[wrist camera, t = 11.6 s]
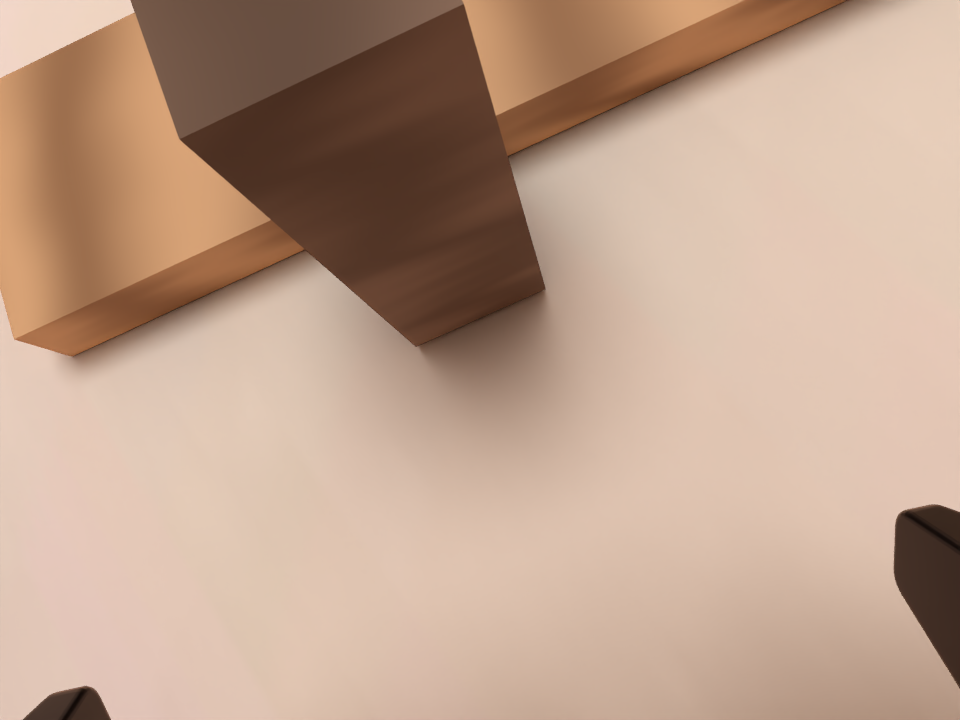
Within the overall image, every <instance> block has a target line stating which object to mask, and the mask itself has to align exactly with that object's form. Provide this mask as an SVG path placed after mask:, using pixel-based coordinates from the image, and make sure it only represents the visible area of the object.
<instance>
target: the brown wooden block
mask: <svg viewBox="0 0 960 720" xmlns="http://www.w3.org/2000/svg"><path fill="white" fill-rule="evenodd" d="M131 3H132V6H133V9H134V11H135V14H136V17H137V20H138V23H139V26H140V29H141V31H142V34H143V37H144V40H145V43H146V46H147V49H148V51H149V54H150V57H151V60H152V63H153V66H154V69H155V71H156V74H157V77H158V80H159V83H160V86H161V89H162V91H163V94H164V97H165V100H166V103H167V106H168V109H169V112H170V114H171V117H172V120H173V123H174V126H175V129H176V132H177V134H178V137H179V140H181V141H182V142H183V143H184V144H185V145H186V146H187V147H189V148H190V149H191V150H192V151H193V152H194V153H195V154H197V155H198V156H199V157H200V158H201V159H202V160H203V161H205V162H206V163H207V164H208V165H209V166H210V167H211V168H213V169H214V170H215V171H216V172H217V173H218V174H219V175H221V176H222V177H223V178H224V179H225V180H226V181H227V182H229V183H230V184H231V185H232V186H233V187H234V188H235V189H236V190H238V191H239V192H240V193H241V194H242V195H243V196H244V197H246V198H247V199H248V200H249V201H250V202H251V203H252V204H254V205H255V206H256V207H257V208H258V209H259V210H260V211H262V212H263V213H264V214H265V215H266V216H267V217H268V218H270V219H271V220H272V221H273V222H274V223H275V224H276V225H278V226H279V227H280V228H281V229H282V230H283V231H284V232H286V233H287V234H288V235H289V236H290V237H291V238H292V239H294V240H295V241H296V242H297V243H298V244H299V245H300V246H302V247H303V248H304V249H305V250H306V251H307V252H308V253H310V254H311V255H312V256H313V257H314V258H315V259H316V260H318V261H319V262H320V263H321V264H322V265H323V266H324V267H326V268H327V269H328V270H329V271H330V272H331V273H332V274H334V275H335V276H336V277H337V278H338V279H339V280H340V281H342V282H343V283H344V284H345V285H346V286H347V287H348V288H349V289H351V290H352V291H353V292H354V293H355V294H356V295H357V296H359V297H360V298H361V299H362V300H363V301H364V302H365V303H367V304H368V305H369V306H370V307H371V308H372V309H373V310H375V311H376V312H377V313H378V314H379V315H380V316H381V317H383V318H384V319H385V320H386V321H387V322H388V323H389V324H391V325H392V326H393V327H394V328H395V329H396V330H397V331H399V332H400V333H401V334H402V335H403V336H404V337H405V338H407V339H408V340H409V341H410V342H411V343H412V344H413V345H415V346H416V347H417V346H419V345H421V344H423V343H426V342H428V341H430V340H432V339H435V338H437V337H439V336H441V335H444V334H446V333H448V332H450V331H452V330H455V329H457V328H459V327H461V326H464V325H466V324H468V323H470V322H473V321H475V320H477V319H479V318H482V317H484V316H486V315H488V314H491V313H493V312H495V311H497V310H500V309H502V308H504V307H506V306H509V305H511V304H513V303H515V302H518V301H520V300H522V299H524V298H527V297H529V296H531V295H533V294H535V293H538V292H540V291H542V290H544V289H545V285H544V282H543V278H542V275H541V271H540V268H539V264H538V261H537V257H536V254H535V250H534V247H533V244H532V240H531V237H530V233H529V230H528V226H527V223H526V219H525V216H524V212H523V209H522V205H521V202H520V198H519V195H518V191H517V188H516V184H515V181H514V177H513V174H512V170H511V167H510V163H509V160H508V156H507V153H506V149H505V146H504V142H503V139H502V135H501V132H500V128H499V125H498V121H497V118H496V114H495V111H494V107H493V104H492V100H491V97H490V93H489V90H488V86H487V83H486V79H485V76H484V72H483V69H482V65H481V62H480V58H479V55H478V51H477V48H476V45H475V41H474V38H473V34H472V31H471V27H470V24H469V20H468V17H467V13H466V10H465V6H464V3H463V1H462V0H131Z"/></svg>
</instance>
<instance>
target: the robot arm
mask: <svg viewBox="0 0 960 720" xmlns="http://www.w3.org/2000/svg"><path fill="white" fill-rule="evenodd" d="M894 576H895V580H896V583H897V586H898V588H899V591H900V592H901V594H902V596H903V597H904V599H905V601H906V602H907V604H908V606H909V607H910V609H911V610H912V612H913V614H914V615H915V617H916V618H917V620H918V622H919V623H920V625H921V627H922V628H923V630H924V631H925V633H926V635H927V636H928V638H929V639H930V641H931V643H932V644H933V646H934V648H935V649H936V651H937V652H938V654H939V656H940V657H941V659H942V660H943V662H944V664H945V665H946V667H947V669H948V670H949V672H950V673H951V675H952V677H953V678H954V680H955V681H956V683H957V685H958V686H959V688H960V512H958V511H955V510H952V509H949V508H947V507H944V506H941V505H935V504H934V505H926V506H922V507H917V508H912V509H908V510H904V511H902V512H901V513H900V514H899V515H898V517H897V519H896V524H895V547H894ZM23 720H111V719H110V717H109V714H108V712H107V710H106V708H105V706H104V704H103V702H102V700H101V698H100V696H99V694H98V693H97V691H96V690H95V689H94V688H92V687H88V686H83V687H78V688H73V689H69V690H64V691H59V692H56V693H53V694H51V695H49V696H48V697H47V698H46V699H45V700H43V701H42V702H41V703H40V704H39V705H38V706H37V707H36V708H35V709H34V710H33V711H31V712H30V713H29V714H28V715H27V716H26V717H25V718H24V719H23Z"/></svg>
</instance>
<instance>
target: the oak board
mask: <svg viewBox="0 0 960 720" xmlns="http://www.w3.org/2000/svg"><path fill="white" fill-rule="evenodd" d="M462 1H463V3H464V6H465V10H466V13H467V17H468V20H469V24H470V27H471V31H472V34H473V38H474V41H475V45H476V48H477V51H478V55H479V58H480V62H481V65H482V69H483V72H484V76H485V79H486V83H487V86H488V90H489V93H490V97H491V100H492V104H493V107H494V111H495V114H496V118H497V121H498V125H499V128H500V132H501V135H502V139H503V142H504V146H505V149H506V153H507V156H509V155H512V154H514V153H516V152H518V151H520V150H522V149H525V148H527V147H529V146H531V145H533V144H535V143H538V142H540V141H542V140H544V139H546V138H549V137H551V136H553V135H555V134H557V133H559V132H562V131H564V130H566V129H568V128H570V127H572V126H575V125H577V124H579V123H581V122H583V121H586V120H588V119H590V118H592V117H594V116H596V115H599V114H601V113H603V112H605V111H607V110H609V109H612V108H614V107H616V106H618V105H620V104H622V103H625V102H627V101H629V100H631V99H633V98H636V97H638V96H640V95H642V94H644V93H646V92H649V91H651V90H653V89H655V88H657V87H659V86H662V85H664V84H666V83H668V82H670V81H673V80H675V79H677V78H679V77H681V76H683V75H686V74H688V73H690V72H692V71H694V70H696V69H699V68H701V67H703V66H705V65H707V64H709V63H712V62H714V61H716V60H718V59H720V58H723V57H725V56H727V55H729V54H731V53H733V52H736V51H738V50H740V49H742V48H744V47H746V46H749V45H751V44H753V43H755V42H757V41H760V40H762V39H764V38H766V37H768V36H770V35H773V34H775V33H777V32H779V31H781V30H783V29H786V28H788V27H790V26H792V25H794V24H796V23H799V22H801V21H803V20H805V19H807V18H810V17H812V16H814V15H816V14H818V13H820V12H823V11H825V10H827V9H829V8H831V7H833V6H836V5H838V4H840V3H842V2H844V1H847V0H462ZM303 250H305V249H304V248H303V247H302V246H300V245H299V244H298V243H297V242H296V241H295V240H294V239H292V238H291V237H290V236H289V235H288V234H287V233H286V232H284V231H283V230H282V229H281V228H280V227H279V226H278V225H276V224H275V223H274V222H273V221H272V220H271V219H270V218H268V217H267V216H266V215H265V214H264V213H263V212H262V211H260V210H259V209H258V208H257V207H256V206H255V205H254V204H252V203H251V202H250V201H249V200H248V199H247V198H246V197H244V196H243V195H242V194H241V193H240V192H239V191H238V190H236V189H235V188H234V187H233V186H232V185H231V184H230V183H229V182H227V181H226V180H225V179H224V178H223V177H222V176H221V175H219V174H218V173H217V172H216V171H215V170H214V169H213V168H211V167H210V166H209V165H208V164H207V163H206V162H205V161H203V160H202V159H201V158H200V157H199V156H198V155H197V154H195V153H194V152H193V151H192V150H191V149H190V148H189V147H187V146H186V145H185V144H184V143H183V142H182V141H181V140H179V137H178V134H177V132H176V129H175V126H174V123H173V120H172V117H171V114H170V112H169V109H168V106H167V103H166V100H165V97H164V94H163V91H162V89H161V86H160V83H159V80H158V77H157V74H156V71H155V69H154V66H153V63H152V60H151V57H150V54H149V51H148V49H147V46H146V43H145V40H144V37H143V34H142V31H141V29H140V26H139V23H138V20H137V17H136V14H135V13H133V14H131V15H129V16H126V17H124V18H122V19H120V20H118V21H116V22H114V23H112V24H110V25H108V26H106V27H104V28H102V29H100V30H98V31H96V32H94V33H92V34H90V35H88V36H86V37H84V38H82V39H80V40H78V41H75V42H73V43H71V44H69V45H67V46H65V47H63V48H61V49H59V50H57V51H55V52H53V53H51V54H49V55H47V56H45V57H43V58H41V59H39V60H37V61H35V62H33V63H31V64H29V65H27V66H24V67H22V68H20V69H18V70H16V71H14V72H12V73H10V74H8V75H6V76H4V77H2V78H0V290H1V293H2V297H3V301H4V304H5V308H6V312H7V315H8V319H9V323H10V326H11V330H12V334H13V337H14V339H15V340H18V341H21V342H25V343H28V344H32V345H35V346H38V347H42V348H45V349H48V350H52V351H55V352H58V353H62V354H65V355H68V356H74V355H77V354H79V353H81V352H83V351H85V350H87V349H90V348H92V347H94V346H96V345H98V344H100V343H103V342H105V341H107V340H109V339H111V338H114V337H116V336H118V335H120V334H122V333H124V332H127V331H129V330H131V329H133V328H135V327H137V326H140V325H142V324H144V323H146V322H148V321H150V320H153V319H155V318H157V317H159V316H161V315H164V314H166V313H168V312H170V311H172V310H174V309H177V308H179V307H181V306H183V305H185V304H187V303H190V302H192V301H194V300H196V299H198V298H201V297H203V296H205V295H207V294H209V293H211V292H214V291H216V290H218V289H220V288H222V287H224V286H227V285H229V284H231V283H233V282H235V281H237V280H240V279H242V278H244V277H246V276H248V275H251V274H253V273H255V272H257V271H259V270H261V269H264V268H266V267H268V266H270V265H272V264H274V263H277V262H279V261H281V260H283V259H285V258H288V257H290V256H292V255H294V254H296V253H298V252H301V251H303Z"/></svg>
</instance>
